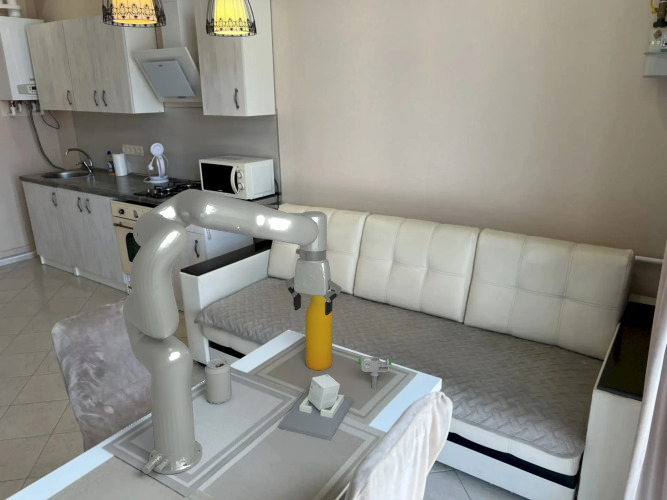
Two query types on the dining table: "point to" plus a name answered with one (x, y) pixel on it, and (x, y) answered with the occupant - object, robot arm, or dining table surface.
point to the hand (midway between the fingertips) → (312, 311)
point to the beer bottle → (318, 335)
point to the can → (218, 380)
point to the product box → (323, 391)
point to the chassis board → (316, 417)
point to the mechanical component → (374, 367)
